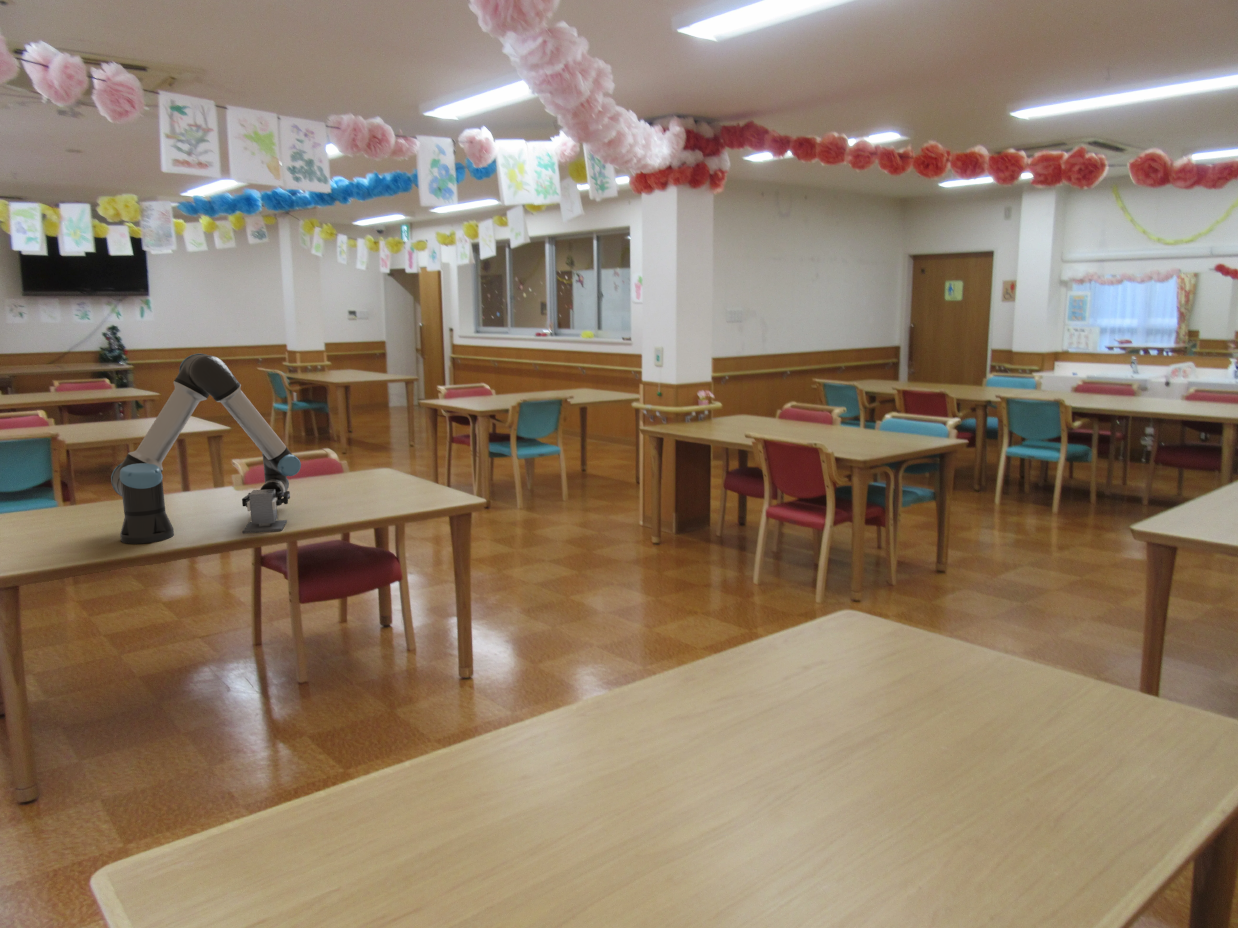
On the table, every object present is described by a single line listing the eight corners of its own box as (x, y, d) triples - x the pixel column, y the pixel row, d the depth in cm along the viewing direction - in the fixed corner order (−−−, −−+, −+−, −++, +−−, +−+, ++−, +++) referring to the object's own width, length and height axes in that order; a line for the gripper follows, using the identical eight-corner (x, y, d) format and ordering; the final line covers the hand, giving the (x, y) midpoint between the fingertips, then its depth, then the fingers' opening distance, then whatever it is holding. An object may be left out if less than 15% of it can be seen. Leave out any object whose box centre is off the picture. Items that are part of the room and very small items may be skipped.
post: (259, 526, 292) (258, 514, 292) (260, 524, 295) (259, 512, 295) (269, 526, 293) (268, 514, 292) (271, 523, 296) (270, 512, 295)
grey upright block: (251, 524, 290) (249, 494, 288) (255, 519, 297) (253, 490, 295) (274, 522, 291) (271, 493, 289) (277, 517, 298) (275, 488, 296)
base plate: (242, 533, 287) (242, 530, 287) (249, 524, 299) (249, 521, 299) (281, 530, 290) (281, 528, 290) (286, 522, 301) (286, 519, 301)
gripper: (302, 500, 313) (293, 515, 291) (242, 503, 309) (229, 519, 287) (301, 480, 312) (292, 493, 290) (241, 482, 308) (227, 496, 286)
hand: (261, 506), depth 289 cm, fingers closed on grey upright block, 7 cm apart
